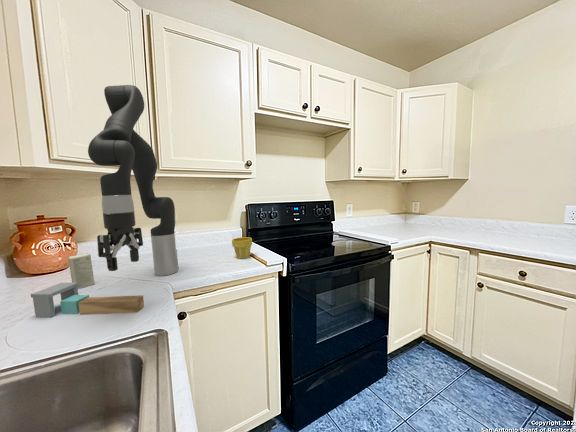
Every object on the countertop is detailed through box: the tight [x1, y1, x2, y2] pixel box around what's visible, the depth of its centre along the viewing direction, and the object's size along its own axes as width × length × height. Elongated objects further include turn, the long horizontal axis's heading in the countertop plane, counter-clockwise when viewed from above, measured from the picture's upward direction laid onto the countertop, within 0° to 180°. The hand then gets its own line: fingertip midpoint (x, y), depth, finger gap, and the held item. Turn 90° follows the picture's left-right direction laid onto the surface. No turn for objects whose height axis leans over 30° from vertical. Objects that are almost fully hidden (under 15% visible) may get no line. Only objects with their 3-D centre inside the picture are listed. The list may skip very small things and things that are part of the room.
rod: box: [78, 295, 145, 315], centre depth 74 cm, size 4×17×4 cm, turn 90°
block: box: [59, 294, 90, 315], centre depth 75 cm, size 4×5×4 cm
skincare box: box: [67, 252, 95, 289], centre depth 95 cm, size 6×4×12 cm
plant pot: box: [231, 236, 253, 260], centre depth 129 cm, size 10×10×10 cm
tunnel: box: [30, 282, 79, 318], centre depth 76 cm, size 9×6×7 cm
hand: (124, 265), depth 72 cm, fingers open, 8 cm apart
